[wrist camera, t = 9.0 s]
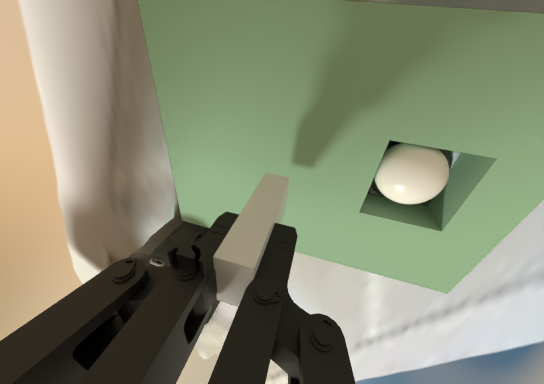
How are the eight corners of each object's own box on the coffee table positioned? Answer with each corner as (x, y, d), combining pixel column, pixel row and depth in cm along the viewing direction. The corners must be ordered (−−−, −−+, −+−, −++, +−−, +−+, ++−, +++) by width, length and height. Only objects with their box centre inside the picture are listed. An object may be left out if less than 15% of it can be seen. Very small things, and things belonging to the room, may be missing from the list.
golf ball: (404, 184, 17) (356, 181, 16) (431, 135, 14) (376, 129, 14) (442, 218, 13) (383, 216, 13) (484, 160, 11) (415, 154, 11)
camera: (148, 217, 28) (68, 285, 20) (208, 208, 24) (138, 288, 16) (197, 283, 33) (151, 356, 25) (252, 285, 29) (218, 372, 21)
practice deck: (198, 203, 23) (181, 220, 21) (170, -2, 14) (134, -14, 11) (434, 263, 19) (447, 293, 17) (626, 32, 10) (721, 25, 7)
